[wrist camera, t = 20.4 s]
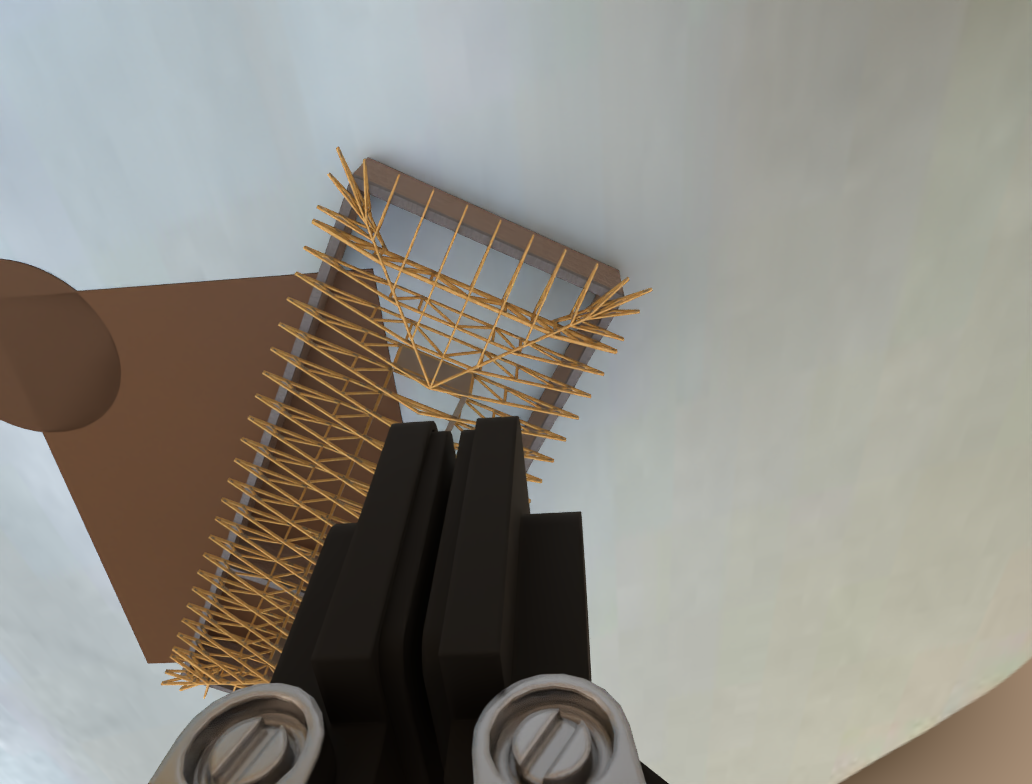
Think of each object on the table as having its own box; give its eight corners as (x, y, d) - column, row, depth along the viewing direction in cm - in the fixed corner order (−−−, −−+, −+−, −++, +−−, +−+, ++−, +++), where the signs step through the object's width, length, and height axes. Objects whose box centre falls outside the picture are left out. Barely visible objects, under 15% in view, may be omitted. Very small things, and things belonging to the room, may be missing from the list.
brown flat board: (365, 227, 37) (364, 228, 37) (446, 650, 50) (446, 653, 50) (-110, 265, 39) (-113, 267, 39) (91, 663, 52) (90, 665, 52)
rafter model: (393, 709, 53) (376, 793, 48) (184, 640, 51) (141, 721, 45) (644, 261, 37) (660, 314, 32) (355, 129, 35) (319, 162, 29)
